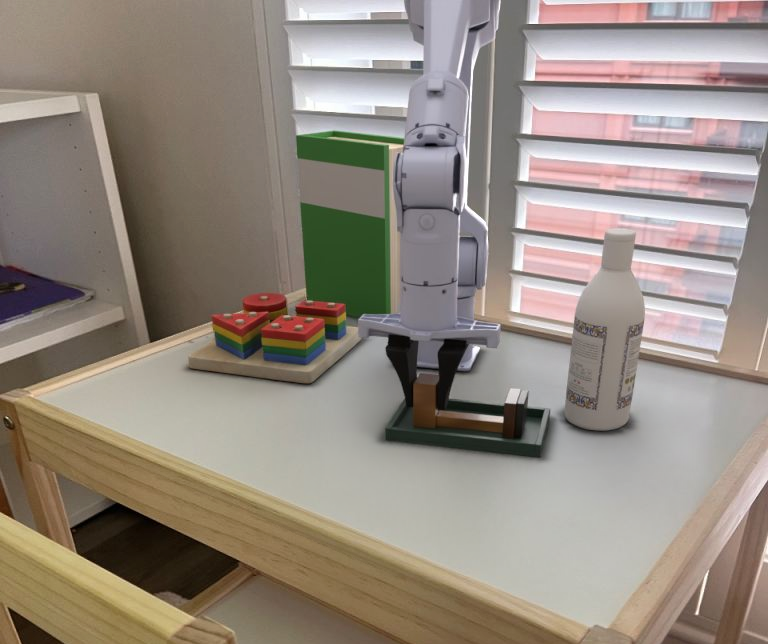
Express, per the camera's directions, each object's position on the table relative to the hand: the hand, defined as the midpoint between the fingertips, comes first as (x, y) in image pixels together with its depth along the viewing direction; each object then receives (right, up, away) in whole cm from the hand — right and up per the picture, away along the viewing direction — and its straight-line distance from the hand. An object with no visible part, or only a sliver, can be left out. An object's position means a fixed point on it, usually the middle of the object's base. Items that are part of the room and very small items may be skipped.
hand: (427, 405), depth 86 cm
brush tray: (+4, -3, 0) cm, 5 cm away
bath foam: (+19, -1, +2) cm, 19 cm away
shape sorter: (-19, +10, +21) cm, 30 cm away
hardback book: (-8, +20, +37) cm, 43 cm away
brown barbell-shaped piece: (+5, -2, 0) cm, 5 cm away
